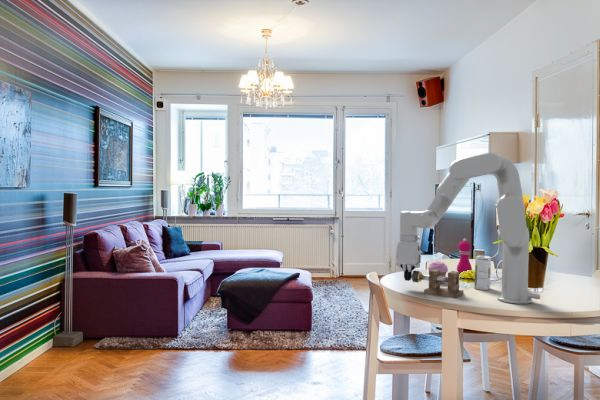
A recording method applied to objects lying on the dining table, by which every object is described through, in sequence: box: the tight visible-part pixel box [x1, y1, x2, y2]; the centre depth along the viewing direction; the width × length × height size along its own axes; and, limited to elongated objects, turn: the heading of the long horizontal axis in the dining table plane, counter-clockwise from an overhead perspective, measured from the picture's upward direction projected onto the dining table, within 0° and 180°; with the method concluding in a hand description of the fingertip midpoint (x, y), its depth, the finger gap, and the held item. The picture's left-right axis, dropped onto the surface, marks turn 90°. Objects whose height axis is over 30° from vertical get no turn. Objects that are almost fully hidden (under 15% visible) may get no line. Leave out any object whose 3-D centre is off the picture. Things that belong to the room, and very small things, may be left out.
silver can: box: [474, 255, 492, 291], centre depth 211 cm, size 6×6×14 cm
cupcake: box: [427, 261, 449, 284], centre depth 226 cm, size 9×9×10 cm
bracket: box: [423, 269, 464, 299], centre depth 200 cm, size 14×9×10 cm, turn 56°
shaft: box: [411, 270, 448, 284], centre depth 203 cm, size 16×5×5 cm, turn 56°
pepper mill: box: [456, 238, 473, 274], centre depth 238 cm, size 7×7×20 cm
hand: (407, 280), depth 209 cm, fingers closed
